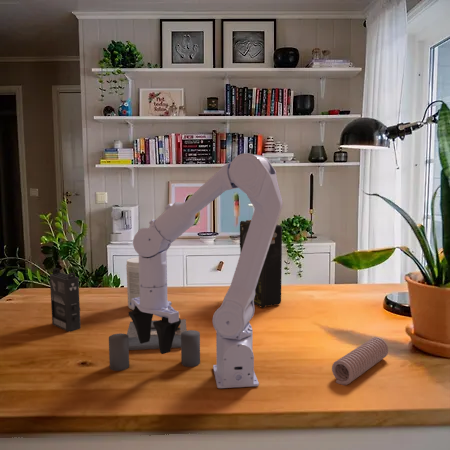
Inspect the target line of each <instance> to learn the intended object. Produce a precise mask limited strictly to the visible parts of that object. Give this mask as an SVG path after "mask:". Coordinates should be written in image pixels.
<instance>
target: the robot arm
mask: <svg viewBox="0 0 450 450" xmlns="http://www.w3.org/2000/svg"><path fill="white" fill-rule="evenodd" d="M236 189H240V190H241V191H242V192H243V193H244V194H245V195H246V196H247V198H248V200H249V202H250V203H251V205H252V206H253V208H254V210H253V214H252V216H251V219H250V220H251V223H250V226H249V229H248V232H247V235H246V238H245V242H244V245H243V248H242V251H241V254H239V258H238V261H237V264H236V267H235V271H234V274H233V276H232V280H231V283H230V286H229V288H228V289H227V292H226V294H225V296H224V298H223V301H222V303H221V305H220V307H218V308H217V309H216V310H215V312H214V313H213V316H212V327H213V328H214V330H215V332H216V337H215V338H216V342H215V343H216V347H215V348H216V364H213V366H212V369H213V373H214V379H215V384H216V387H217V388H218V389H228V388H229V389H230V388H247V387H250V388H251V387H259V385H260V382H259V381H258V377H257V375H256V373H255V369H254V368H255V355H254V351H253V341H254V340H253V339H254V337H253V334H254V333H253V332H254V331H253V327H252V325H251V323H250V321H251V320H252V319H253V317H254V315H255V304H254V297H255V289H256V286H257V283H258V280H259V277H260V273H261V270H262V267H263V264H264V261H265V258H266V255H267V252H268V249H269V246H270V243H271V240H272V237H273V234H274V231H275V228H276V225H278V222H279V219H280V216H281V212H282V210H283V204H284V202H283V197H282V193H281V190H280V186H279V182H278V176H277V171H276V169H275V167H273V165H272V163H271V162H270V161H269V159H268V158H266V157H265V156H263V155H262V154H261V155H260V154H253V153H248V152H247V153H246V152H244V153H240V154H238V155H236V156H235V157H234V158H233V159H232V161H231V162H228V163H225V164H224V165H223V166H222V167H221V168H220V169H218V170H217V171H216V172H215V173H214V174H213V175H212V176H211V177H210V178H209V179H208V180H207V181H205V182H204V183H203V184H202V186H200V188H198V189H197V190H196V191H195V192H194V193H193V194H192V195H191V196H190V197H189V198H188V199H187V200H185V202H180V201H176V202H174V203H172V202H171V203H168V204H166V206H164V209H165V211H164V212H163V213H161V214H160V215H159V216H158V217H157V218H156V219H151V220H150V221H149V222H148V224H149V227H142V228H140V229H138V230H137V232H136V233H135V234H134V237H133V239H132V245H133V248H134V250H135V252H136V253H137V254H138V257H139V288H140V297H137V298H133V299H131V307H132V308H135V309H134V310H130V311H129V312H128V316H129V317H130V319H131V322H132V321H133V323H134V325H135V328H136V331H137V334H138V338H139V341H140V343H141V344H142V343H146V342H149V341H150V335H151V322H152V321H153V317H154V316H156V317H159V318H161V319H159V321H156V320H154V321H155V322H153V325H154V327H155V329H156V331H157V335H158V340H159V353H160V354H161V355H164V354H168V353H171V350H172V348H171V347H172V342H173V339H174V335H175V333H176V331H177V328H178V327H179V325H180V323H181V317H180V318H179V314H180V313H179V312H180V311H178V310H175V308H174V307H173V306H172V301H170V300H168V264H167V260H168V259H167V257H168V256H167V251H168V250H169V249H170V246H171V244H173V242H175V241H176V240H177V239H178V238H180V236H182V235H183V234H184V233H185V232H187V231H188V230H189V229H190V228H191V227H193V226H194V225H195V223H196V222H195V221H196V215H197V214H198V213H199V212H201V211H202V210H203V209H204V208H206V207H207V206H208V205H210V204H211V203H212V202H213V201H214V200H216V199H217V198H218V197H219V196H221V195H222V194H223V193H225V192H227V191H230V190H236Z"/></svg>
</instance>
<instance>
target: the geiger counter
mask: <svg viewBox="0 0 450 450" xmlns="http://www.w3.org/2000/svg"><path fill="white" fill-rule="evenodd" d="M60 269H61V268H60V267H59V268H53V269H52V274H49V285H50V286H49V287H50V290H49V291H50V303H51V304H50V306H51V307H50V308H51V322H52V323H51V325H53V326H54V327H57V328H60V329H61V330H63V331H65V332H74V331H76V330H77V331H78V330H81V328H82V327H81V306H80V305H81V304H80V286H79V285H80V284H79V283H80V282H79V277H78V276H76V272H71V273H66V274H65V273H64V272H61V270H60Z"/></svg>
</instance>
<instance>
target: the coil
mask: <svg viewBox="0 0 450 450" xmlns="http://www.w3.org/2000/svg"><path fill="white" fill-rule="evenodd" d="M388 354H389V347H388V343H387V342H386V341H385V340H384V339H383V338H381V337H378V336H374V337H371V338H370V339H369V340H367V341H365V342H364V343H362V344H361V345H359V346H357V347H356V348H354V349H353V350H351V351H350V352H348V353H346V354H345V355H343V356H342V357H340V358H339V359H337V360H335V361H334V362H333V363H332V366H331V373H332V375H333V376H334V378H335V379H336V380H335V383H336V384H339V385H342V386H347V385H350V384H351V383H352V382H353V381H355V380H356V379H358V378H359V377H360V376H362V375H363V374H364V373H366V372H367V371H368V370H370V369H371V368H373V367H374V366H375V365H377V364H378V363H379V362H381V361H382V360H384V358H386V357H387V356H388Z"/></svg>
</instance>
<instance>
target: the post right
mask: <svg viewBox="0 0 450 450" xmlns="http://www.w3.org/2000/svg"><path fill="white" fill-rule="evenodd" d="M180 353H181V354H180V358H181V359H180V360H181V361H180V362H181V363H180V364H181V365H182V366H184V367H187V368H192V367H193V368H194V367H196V366H199V365H201V333H200V331H198V330H192V329H190V330H187V331H184V332H182V333H181V348H180Z"/></svg>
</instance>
